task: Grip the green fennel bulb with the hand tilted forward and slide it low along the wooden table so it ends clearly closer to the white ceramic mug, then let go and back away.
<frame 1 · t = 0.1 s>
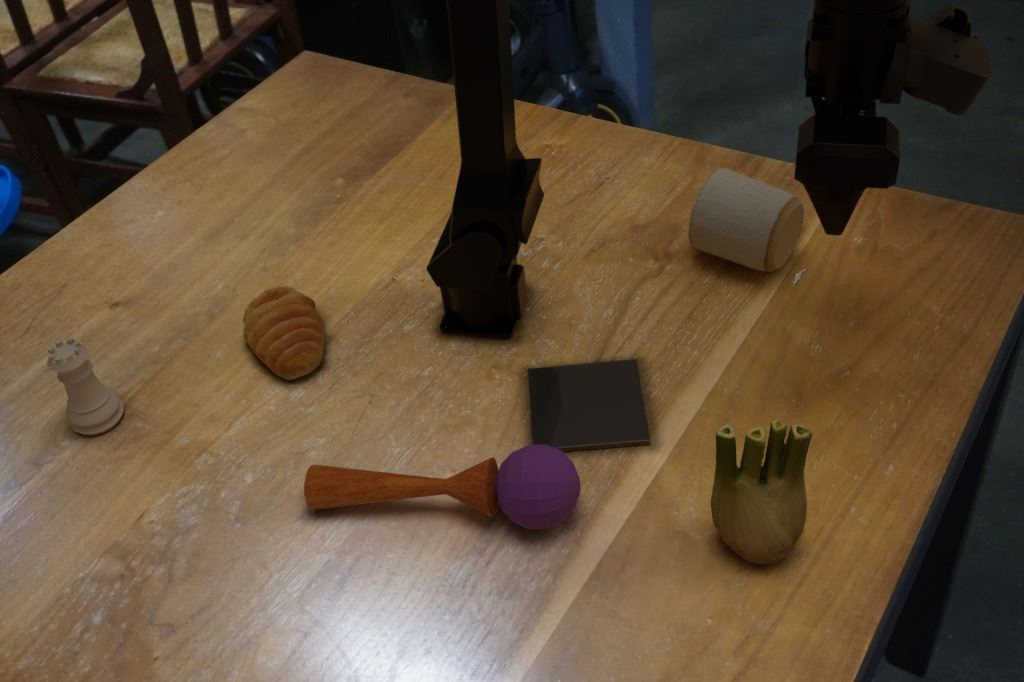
hand: (835, 195, 80), 15 cm above the table, tool pointing down, fingers open, 9 cm apart
slate coaster: (586, 407, 87), on the table
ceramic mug: (748, 247, 100), on the table
pastry: (292, 344, 96), on the table
fennel bulb: (756, 543, 77), on the table
rook chess piece: (99, 419, 92), on the table
kendama: (446, 509, 81), on the table
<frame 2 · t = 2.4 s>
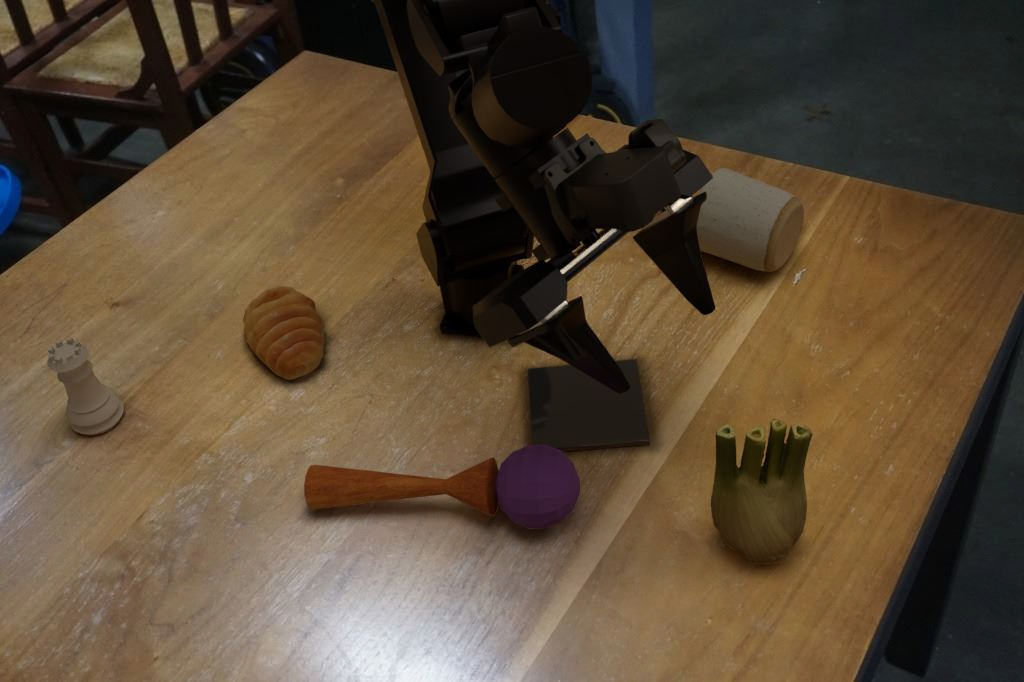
hand: (669, 350, 72), 13 cm above the table, tool tilted 45°, fingers open, 9 cm apart
nothing on the table moved.
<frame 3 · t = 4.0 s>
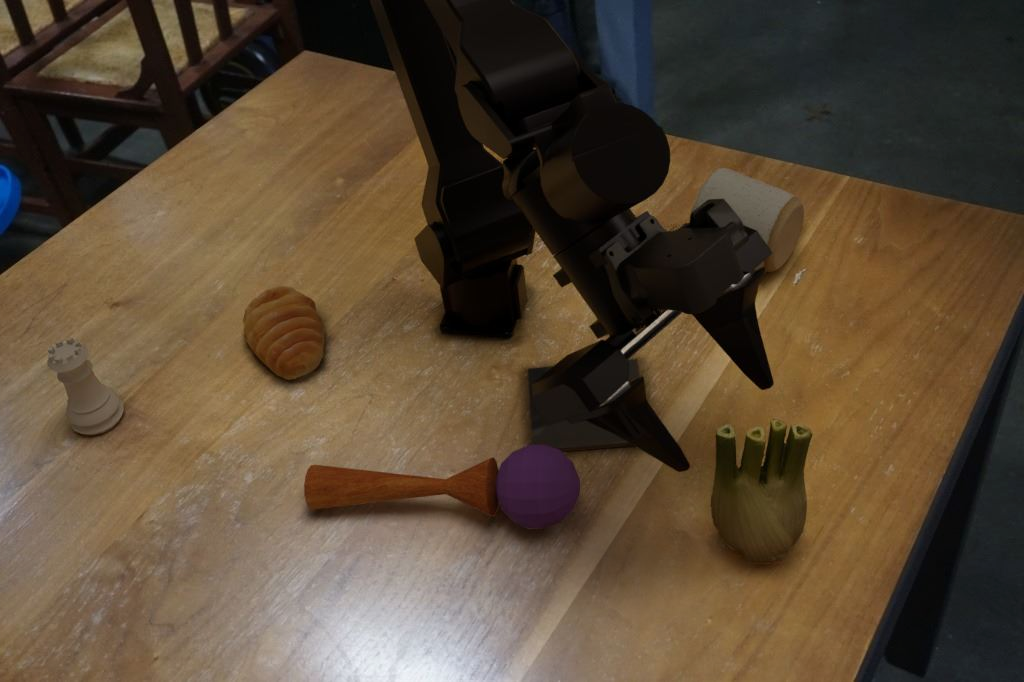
hand: (727, 427, 71), 10 cm above the table, tool tilted 45°, fingers open, 9 cm apart
nothing on the table moved.
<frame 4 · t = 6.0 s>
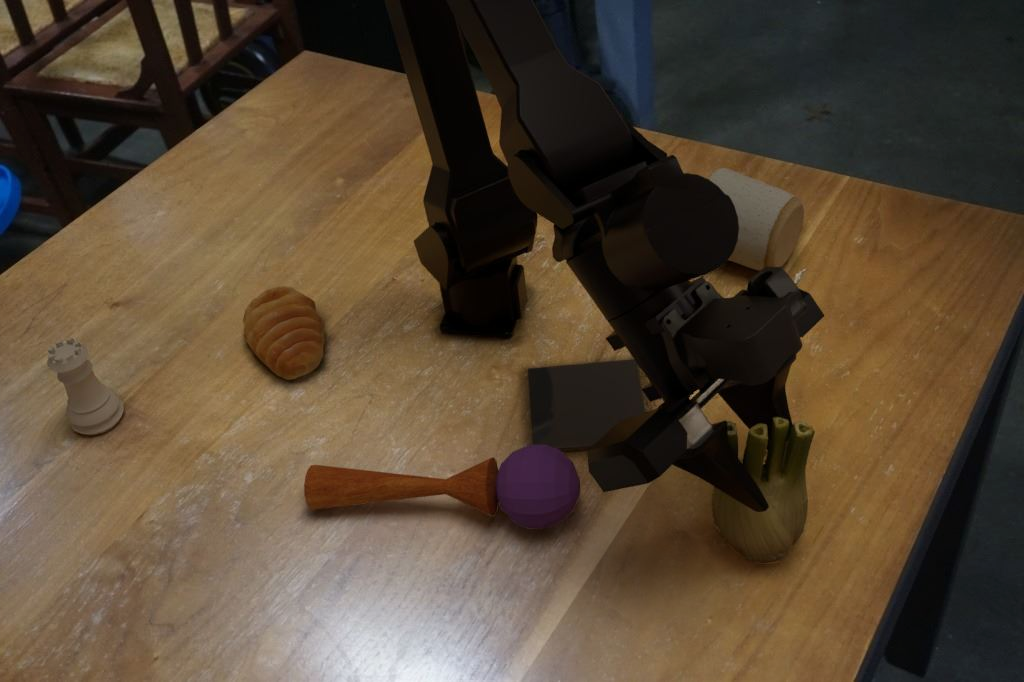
hand: (780, 491, 71), 7 cm above the table, tool tilted 45°, fingers closed on fennel bulb, 4 cm apart
fennel bulb: (756, 542, 77), on the table, touching gripper
everything else where it was.
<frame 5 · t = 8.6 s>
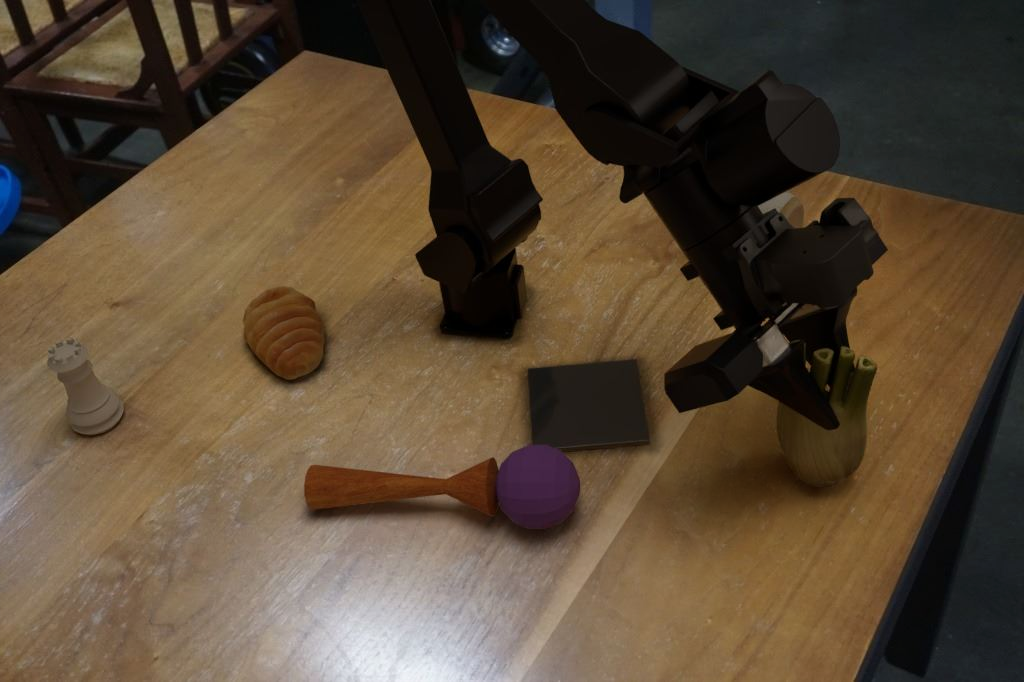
hand: (845, 416, 75), 7 cm above the table, tool tilted 45°, fingers closed on fennel bulb, 2 cm apart
fennel bulb: (816, 468, 80), on the table, touching gripper
everything else where it was.
when the fingers open (7 cm above the table, at t = 10.6 s): fennel bulb stays where it is, on the table.
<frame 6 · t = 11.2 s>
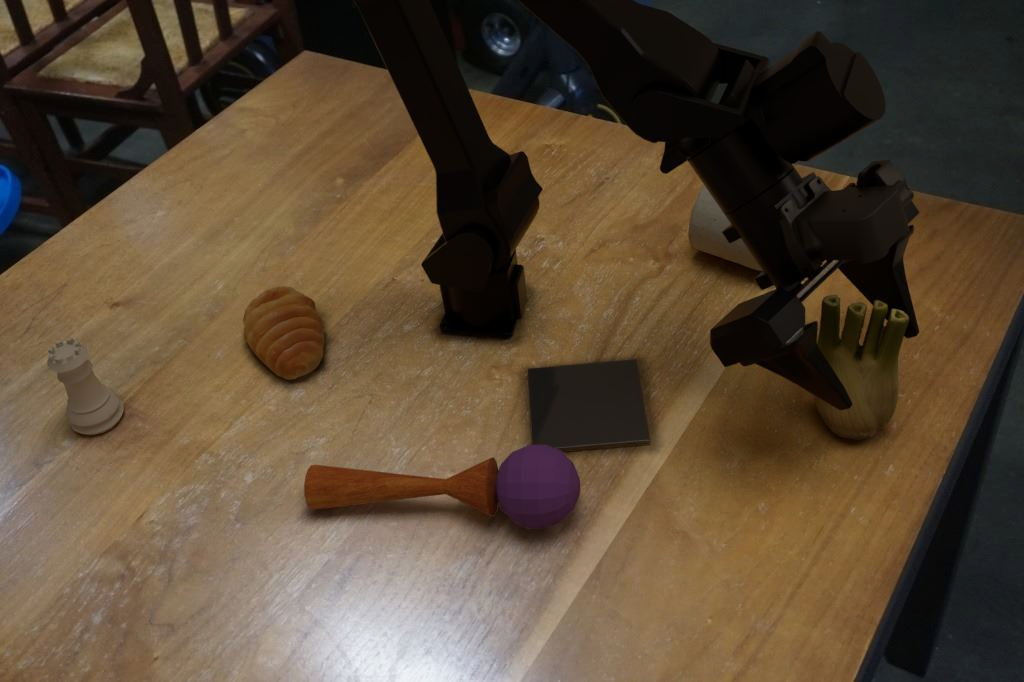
hand: (881, 371, 78), 7 cm above the table, tool tilted 45°, fingers open, 9 cm apart
fennel bulb: (849, 423, 84), on the table
everything else where it was.
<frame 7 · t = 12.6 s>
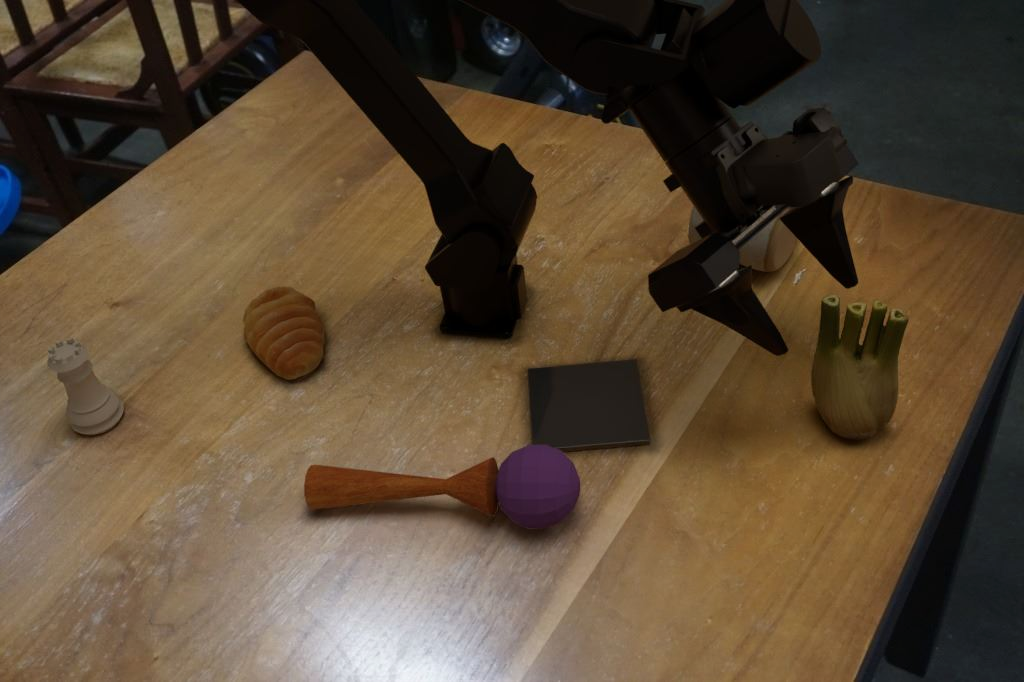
hand: (818, 319, 79), 9 cm above the table, tool tilted 45°, fingers open, 9 cm apart
nothing on the table moved.
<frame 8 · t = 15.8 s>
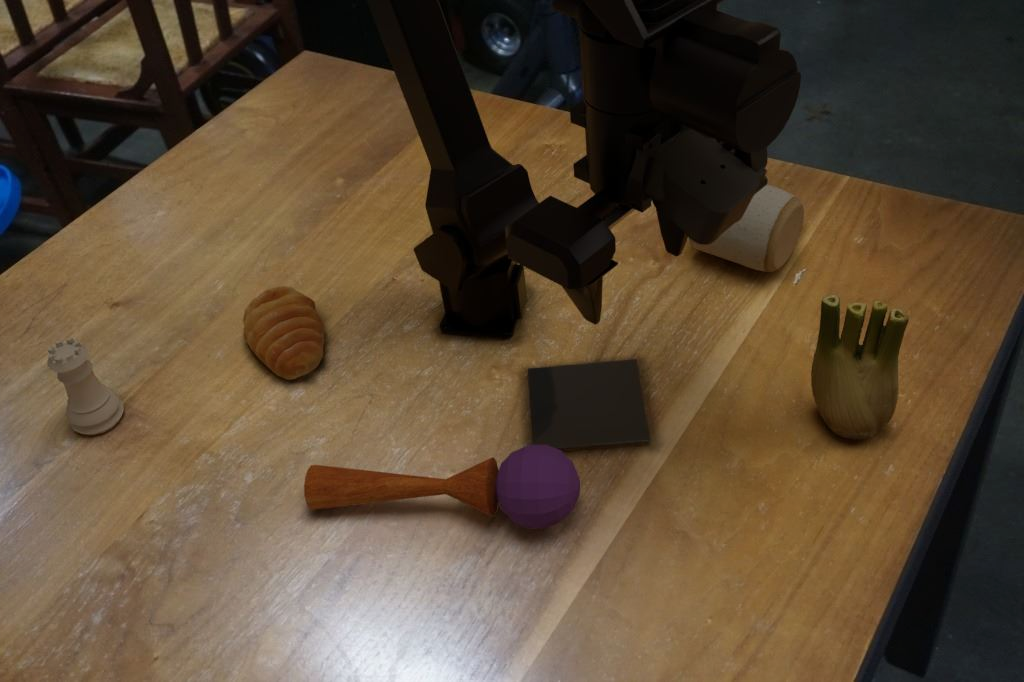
hand: (634, 286, 78), 13 cm above the table, tool pointing down, fingers open, 9 cm apart
nothing on the table moved.
at the end: fennel bulb 22.5 cm from the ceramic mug (horizontally); fennel bulb tilted 0°; the gripper is holding nothing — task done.
